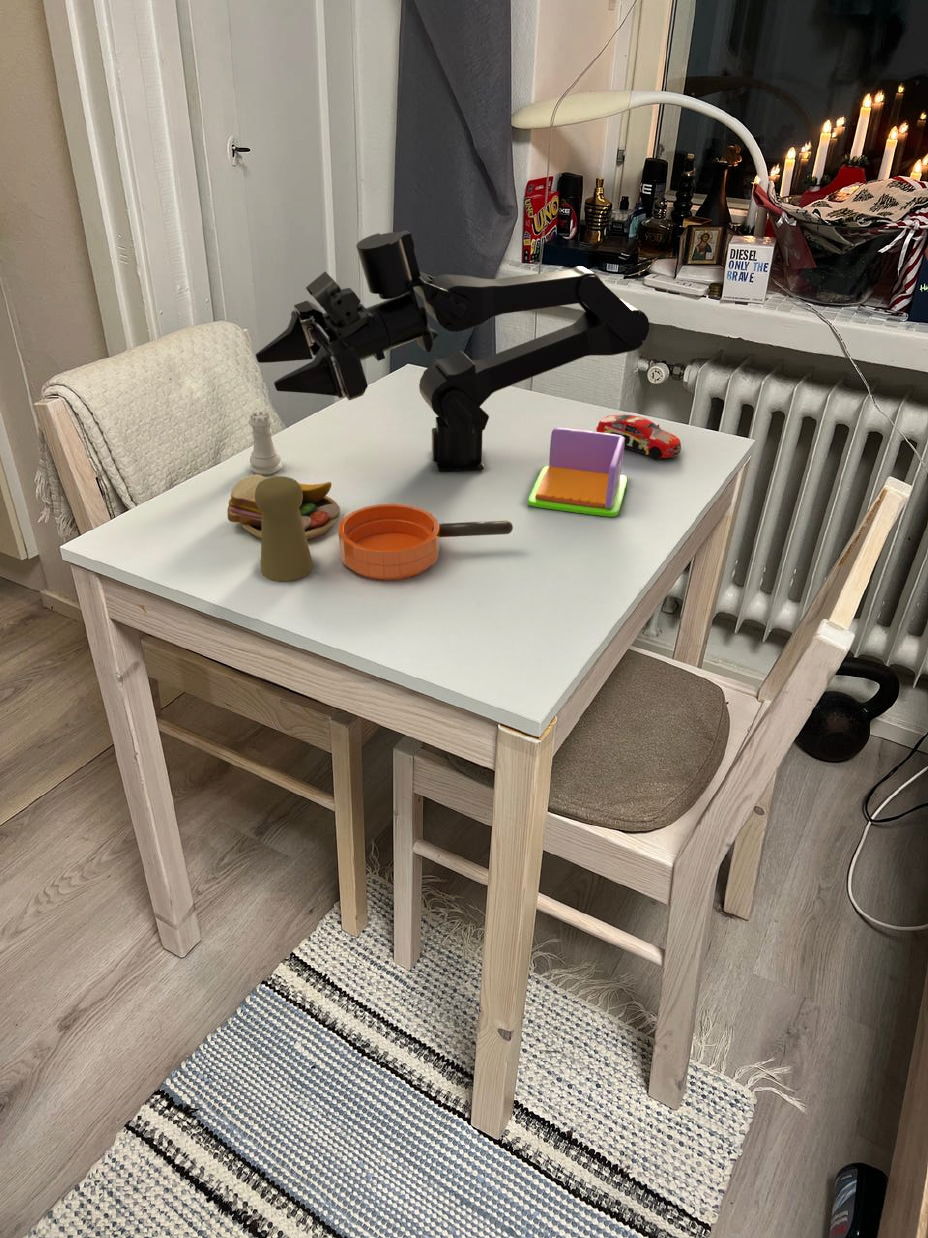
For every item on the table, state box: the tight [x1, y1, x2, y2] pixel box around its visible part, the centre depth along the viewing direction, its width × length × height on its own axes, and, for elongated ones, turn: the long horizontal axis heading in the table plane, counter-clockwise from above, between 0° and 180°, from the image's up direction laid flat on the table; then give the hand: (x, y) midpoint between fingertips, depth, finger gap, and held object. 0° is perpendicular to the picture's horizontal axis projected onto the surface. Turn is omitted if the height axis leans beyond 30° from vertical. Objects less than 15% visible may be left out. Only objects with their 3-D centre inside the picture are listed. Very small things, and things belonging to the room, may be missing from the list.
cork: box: [255, 475, 314, 583], centre depth 103 cm, size 6×6×11 cm
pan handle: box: [432, 520, 514, 538], centre depth 108 cm, size 10×2×2 cm, turn 97°
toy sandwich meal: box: [227, 473, 341, 541], centre depth 114 cm, size 12×14×5 cm
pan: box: [338, 503, 440, 581], centre depth 108 cm, size 12×12×4 cm
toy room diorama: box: [527, 427, 628, 518], centre depth 121 cm, size 12×12×7 cm
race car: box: [595, 414, 682, 461], centre depth 135 cm, size 13×5×4 cm, turn 50°
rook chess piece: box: [248, 410, 283, 476], centre depth 126 cm, size 4×4×8 cm
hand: (265, 372), depth 114 cm, fingers open, 9 cm apart
